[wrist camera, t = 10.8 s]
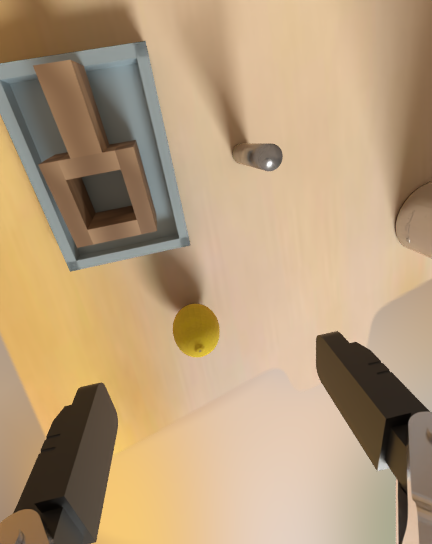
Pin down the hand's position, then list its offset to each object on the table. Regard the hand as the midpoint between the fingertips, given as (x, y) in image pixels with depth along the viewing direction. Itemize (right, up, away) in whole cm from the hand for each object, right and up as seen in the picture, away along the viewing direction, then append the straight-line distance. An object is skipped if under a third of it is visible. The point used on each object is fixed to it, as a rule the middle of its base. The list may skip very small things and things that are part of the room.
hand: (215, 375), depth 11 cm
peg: (+3, +17, +20) cm, 26 cm away
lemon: (-3, -1, +27) cm, 27 cm away
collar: (-11, +15, +16) cm, 24 cm away
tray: (-11, +14, +18) cm, 26 cm away
